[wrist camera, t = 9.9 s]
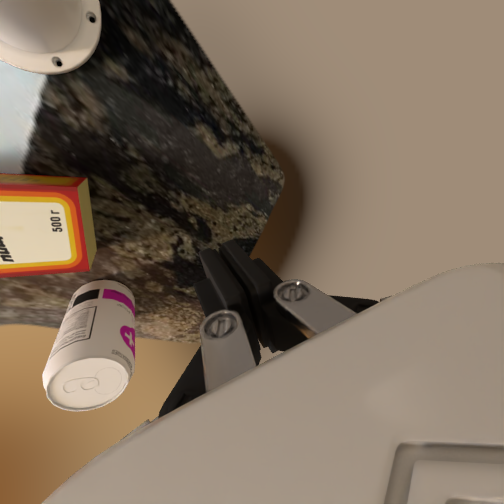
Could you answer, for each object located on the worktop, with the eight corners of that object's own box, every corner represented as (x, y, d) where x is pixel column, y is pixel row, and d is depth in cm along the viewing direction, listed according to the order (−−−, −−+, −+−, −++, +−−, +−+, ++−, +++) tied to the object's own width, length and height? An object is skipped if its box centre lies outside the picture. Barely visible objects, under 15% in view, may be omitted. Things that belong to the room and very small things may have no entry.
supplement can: (135, 277, 38) (136, 347, 26) (133, 322, 41) (132, 405, 28) (70, 277, 35) (34, 359, 22) (72, 326, 37) (41, 424, 25)
